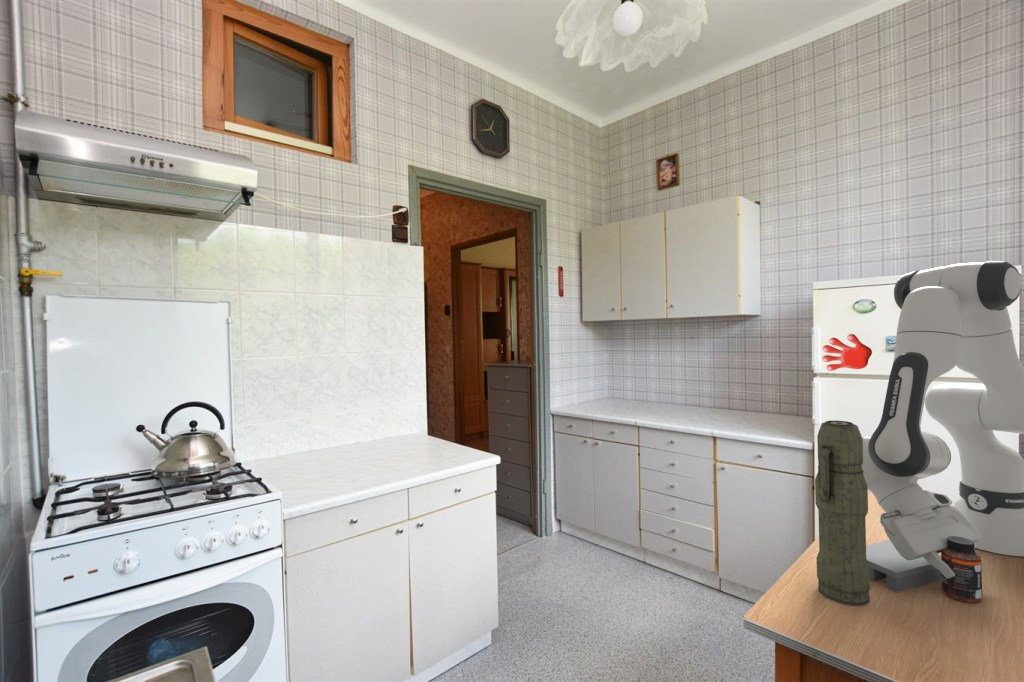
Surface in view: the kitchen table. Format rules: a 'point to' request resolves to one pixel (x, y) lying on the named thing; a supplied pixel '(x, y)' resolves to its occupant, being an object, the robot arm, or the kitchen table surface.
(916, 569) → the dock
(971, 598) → the supplement bottle
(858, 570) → the thermos
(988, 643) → the kitchen table surface
